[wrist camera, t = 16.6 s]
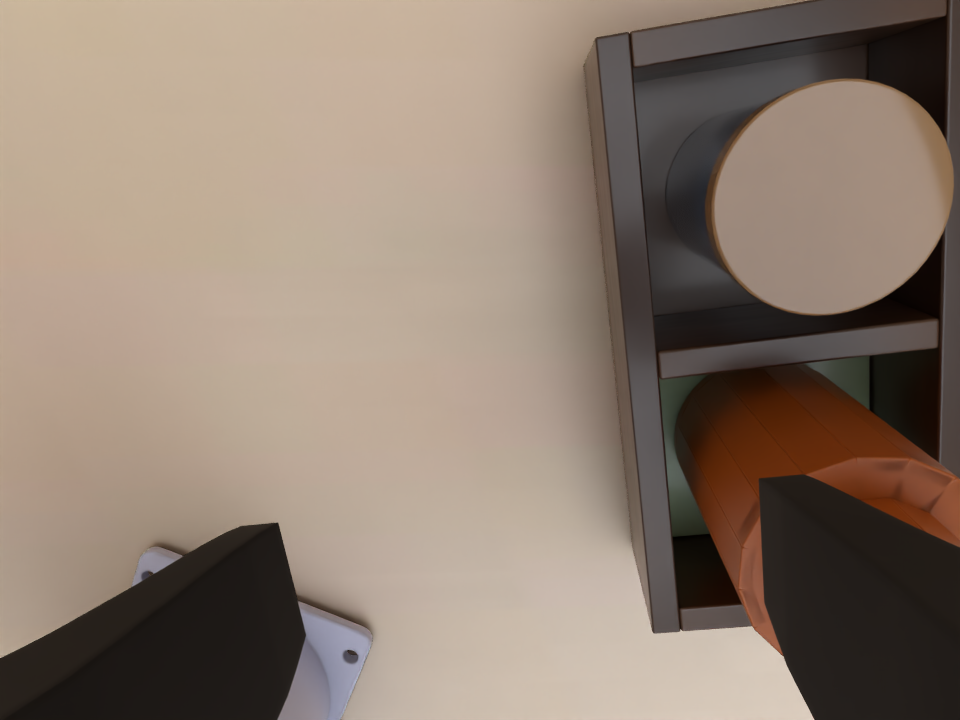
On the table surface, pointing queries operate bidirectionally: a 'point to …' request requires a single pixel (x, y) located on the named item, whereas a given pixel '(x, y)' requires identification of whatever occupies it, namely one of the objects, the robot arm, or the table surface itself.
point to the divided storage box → (723, 303)
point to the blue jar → (815, 194)
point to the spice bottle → (797, 463)
